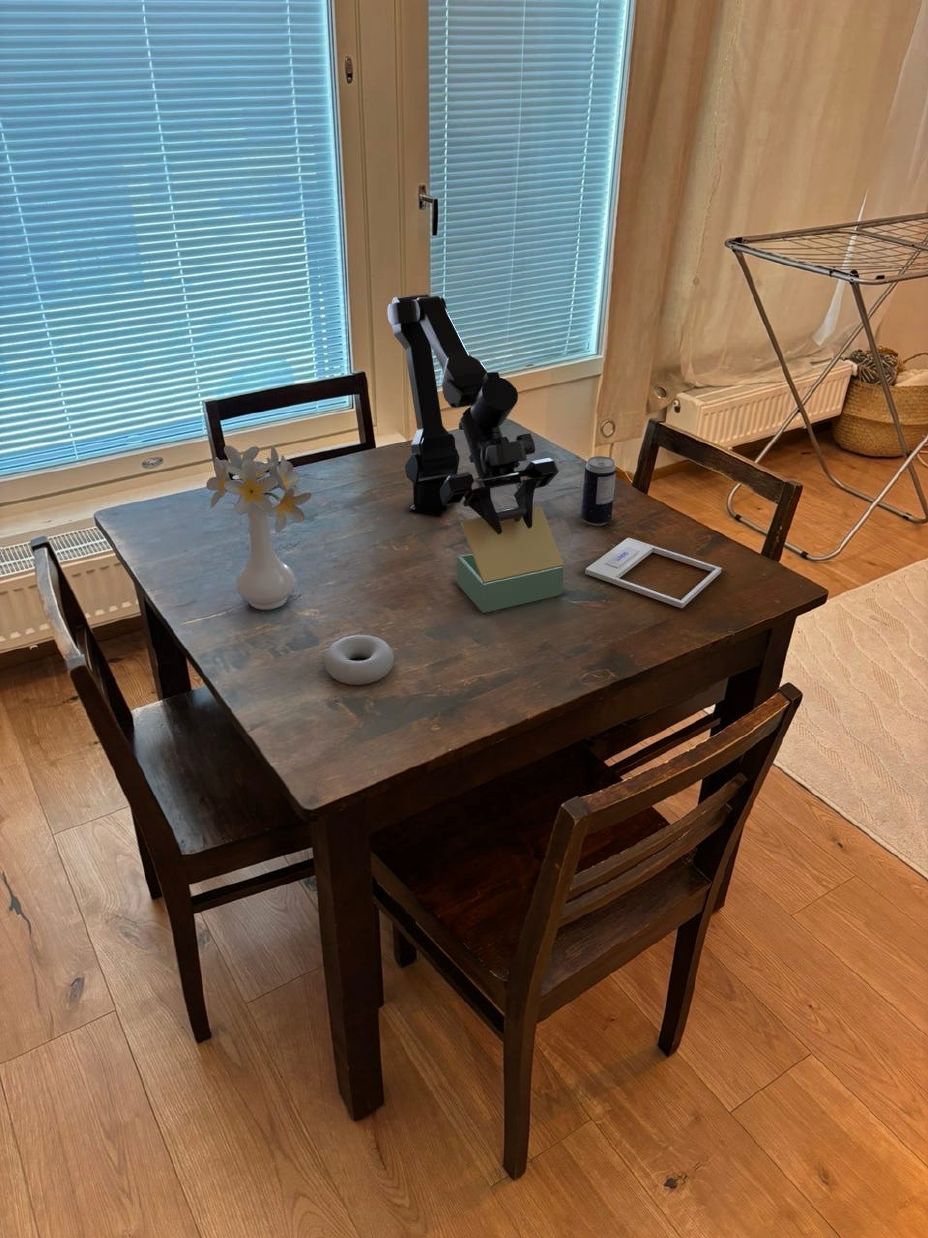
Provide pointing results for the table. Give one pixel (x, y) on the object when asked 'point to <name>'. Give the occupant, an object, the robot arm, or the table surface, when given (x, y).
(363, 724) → the table surface
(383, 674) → the donut
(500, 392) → the robot arm
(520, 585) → the lunchbox
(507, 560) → the lunchbox lid
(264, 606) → the flower vase
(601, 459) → the beverage can
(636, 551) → the photo frame
